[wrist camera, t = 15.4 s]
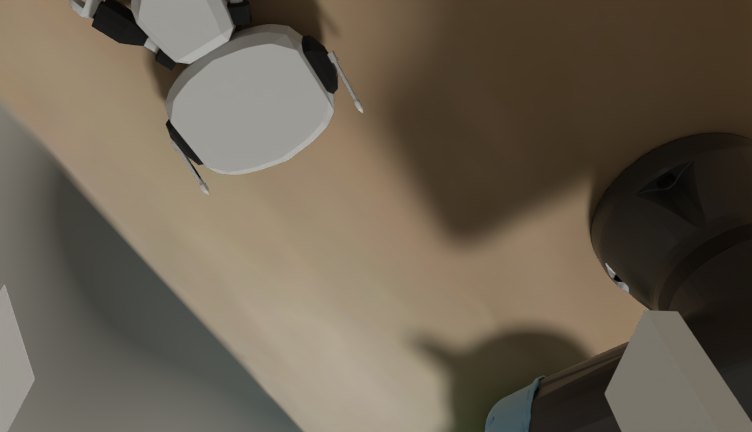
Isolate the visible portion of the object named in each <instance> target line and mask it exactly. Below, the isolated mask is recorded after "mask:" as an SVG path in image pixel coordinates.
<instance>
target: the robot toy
mask: <svg viewBox="0 0 752 432" xmlns="http://www.w3.org/2000/svg"><path fill="white" fill-rule="evenodd" d="M85 1H87V2H86V3H85V2H83V1H81V0H70V1H69V2H70V6H71V8H72V9H73V10H74V11H75V12H77V13H78V14H79V15H80V16H81V17H86V18H92V19H94V21H93V23H92V27H94V28H95V29H97V30H99V31H100V32H102V33H104V34H105V35H107V36H109V37H110V38H112V39H114V40H115V41H117V42H118V43H122V44H130V45H139V46H145V47H147V48H148V49H150V50H151V51H153V52H155V53H156V56H155V57H156V61H157V62H159V63H161V64H162V65H164V66H166V67H167V68H169V69H170V70H172V69H173V67H174V66H175V65H176V63H177V62H180V63H187V64H188V65H187V67H186V68H185V69H184V70H183V71H182V72H181V74H180V75H179V77H178V78H177V79H176V81H175V82H174V84H173V85H172V87H171V89H170V90H169V93H168V96H167V100H166V103H165V107H166V110H167V113H168V117H169V119H168V121H167V123H166V126H167V129H168V131H169V134H170V137H171V139H172V140H173V142H171V144H172V146H173V147H174V149H175V150H176V151H177V150H178V151H179V153H180V154H181V156H182V157H183V159H184V160H185V162H186V164H187V165H188V167H189V168H190V170H191V171H192V173H193V175H194V176H195V178H196V179H197V181H198V182H199V184H200V187H201V189H202V190H203V192H204V193H206V194H208V195H209V188H208V186H207V185H206V183H204V182H203V180H202V179H201V177H200V176H199V174H198V172H197V171H196V169H195V168H194V166H193V165H192V163H191V161H190V160H189V158H190V159H192V160H193V161H194V162H195V163H197V164H198V165H202V164H204V165H205V166H206V167H208V168H210V169H211V170H213V171H215V172H217V173H220V174H232V175H238V174H245V173H250V172H254V171H259V170H262V169H264V168H267V167H270V166H273V165H276V164H279V163H282V162H285V161H287V160H289V159H290V158H291V157H293V156H294V155H295V154H297V153H298V152H299V151H301V150H302V149H303V148H305V147H306V146H307V145H309V144H310V143H311V142H312V141H313V140H314V139H316V138H317V137H318V136H319V135H320V134H321V133H322V132H323V130H324V129H325V128H326V127H327V125H328V123H329V121H330V119H331V117H332V115H333V113H334V104H335V98H334V92H335V91H336V90H337V89H338V75H337V70H338V72H339V74H340V76H341V78H342V80H343V81H344V83H345V85H346V87H347V89H348V91H349V93H350V94H351V96H352V98H353V100H354V103H355V105H356V107H357V109H358V110H359V111H360V112H362V113H363V108H362V105H361V103H360V101H359V100H358V99H357V97H356V96H355V94H354V92H353V90H352V88H351V86H350V85H349V83H348V81H347V79H346V77H345V75H344V73H343V72H342V70H341V68H340V66H339V64H338V62H337V60H338V59H337V57H336V55H335V53H334V51H332V52H330V53H329V54H328V52H327V50H326V49H325V47H324V46H323V45H322V44H320V43H319V42H318V41H317V40H315V39H314V38H313V37H312V36H310V35H308V36H302V35H300V34H299V33H297V32H296V31H295V30H293V29H292V28H290V27H289V26H286V25H277V24H265V25H259V26H255V27H251V28H247V29H244V30H241V31H238V32H236V33H233V32H234V31H235V28H236V25H244V24H249V23H250V22H251V21H252V17H251V11H250V5H249V2H248V1H247V0H131V10H130V9H128V8H127V7H125V6H124V5H122V4H121V3H119V2H117V1H116V0H106V1H105V2H104V1H103V0H85ZM188 157H189V158H188Z"/></svg>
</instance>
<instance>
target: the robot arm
mask: <svg viewBox="0 0 752 432" xmlns="http://www.w3.org/2000/svg"><path fill="white" fill-rule="evenodd" d="M591 239H592V245H593V249H594V252H595V254H596V256H597V258H598V259H599V261H600V263H601V265H602V266H603V268H604V270H605V271H606V273H607V275H608V276H609V277H610V278H611V279H612V281H613V282H614V283H615V284H616V285H618V286H619V287H620V288H622V289H623V290H624V291H626V292H628V293H629V294H631V295H632V296H633V297H634V298H635V299H636V300H637V301H639V302H640V303H641V304H643V305H644V306H645V307H647V308H648V309H649V310H644V312H643V314H642V316H641V319H640V321H639V323H638V325H637V327H636V329H635V331H634V333H633V335H632V337H631V339H630V341H629V342H626V343H624V344H622V345H619V346H617V347H615V348H613V349H610V350H608V351H606V352H603V353H601V354H599V355H596V356H594V357H592V358H589V359H587V360H585V361H582V362H580V363H578V364H575V365H573V366H571V367H568V368H566V369H564V370H561V371H559V372H557V373H554V374H552V375H550V376H548V377H547V376H545V375H543V376H540V377H538V378H536V379H535V380H534V381H533V383H532V384H530V385H528V386H526V387H524V388H522V389H520V390H518V391H516V392H514V393H512V394H510V395H508V396H506V397H504V398H502V399H501V400H499V401H498V402H497V403H496V404H495V405H494V406H493V408H492V409H491V411H490V412H489V415H488V417H487V421H486V424H485V432H752V140H750V139H748V138H745V137H742V136H738V135H733V134H726V133H708V134H700V135H694V136H690V137H686V138H682V139H679V140H676V141H673V142H671V143H668V144H666V145H664V146H661V147H659V148H657V149H655V150H654V151H652V152H650V153H648V154H647V155H645V156H643V157H642V158H640V159H639V160H638V161H636V162H635V163H634V164H632V165H631V166H630V167H629V168H627V169H626V170H625V171H624V172H623V173H622V174H621V175H620V176H619V177H618V178H617V179H616V180H615V181H614V182H613V184H612V185H611V186H610V187H609V189H608V190H607V191H606V193H605V194H604V196H603V198H602V199H601V201H600V203H599V205H598V207H597V209H596V212H595V215H594V218H593V222H592V229H591ZM34 380H35V378H34V375H33V372H32V369H31V366H30V362H29V359H28V356H27V353H26V350H25V347H24V344H23V340H22V337H21V334H20V331H19V328H18V325H17V322H16V318H15V315H14V312H13V309H12V306H11V303H10V299H9V296H8V293H7V290H6V287H5V284H0V432H8V430H9V428H10V426H11V424H12V422H13V420H14V418H15V416H16V414H17V412H18V410H19V408H20V407H21V405H22V403H23V401H24V399H25V397H26V395H27V393H28V391H29V389H30V387H31V386H32V384H33V382H34Z"/></svg>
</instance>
